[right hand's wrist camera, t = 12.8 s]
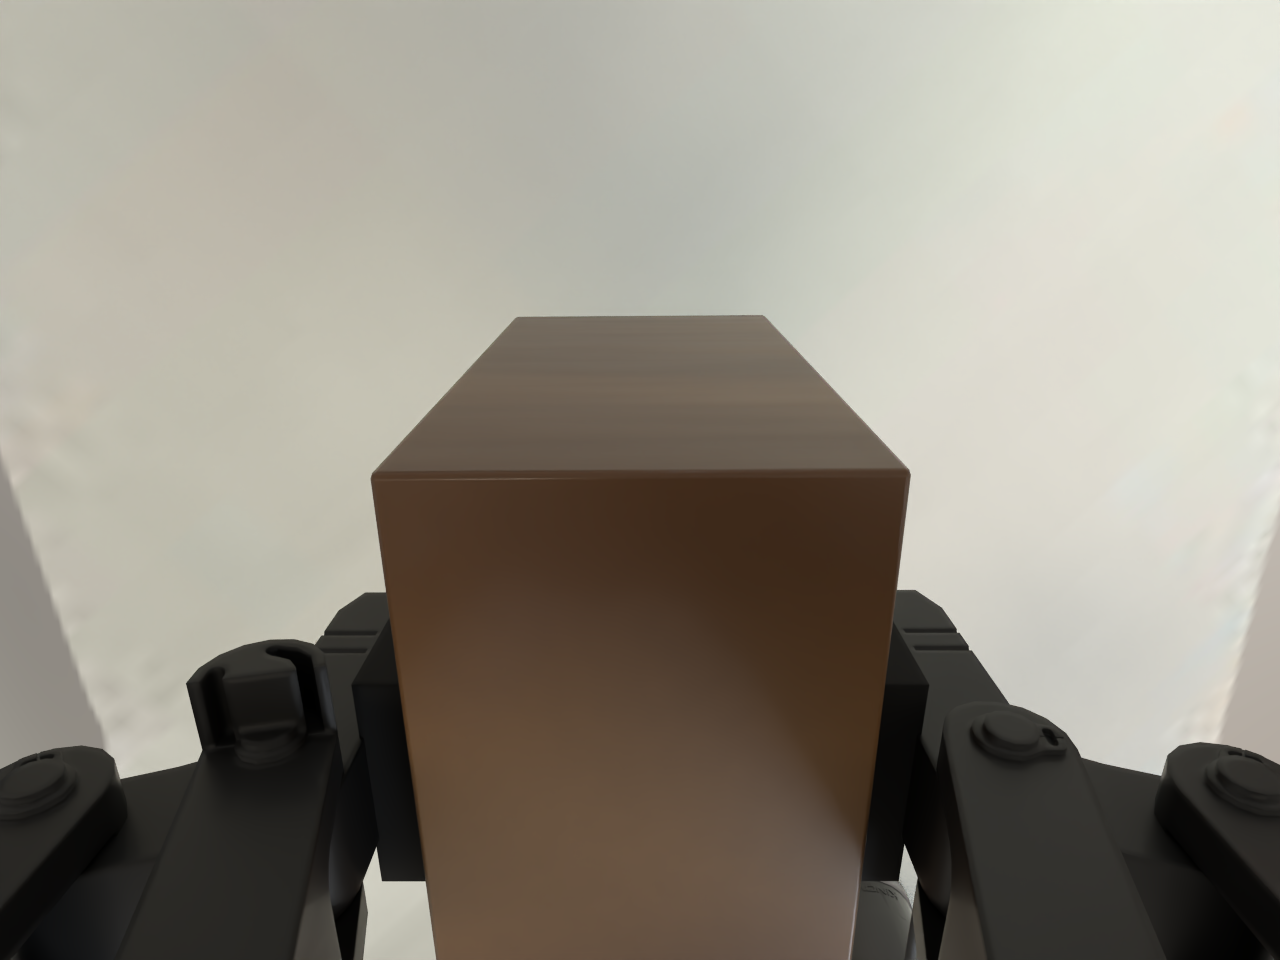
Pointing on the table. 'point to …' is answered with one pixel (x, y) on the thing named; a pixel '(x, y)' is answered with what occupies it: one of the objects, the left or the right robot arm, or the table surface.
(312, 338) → the table surface
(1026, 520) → the table surface
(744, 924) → the bar
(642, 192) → the table surface
